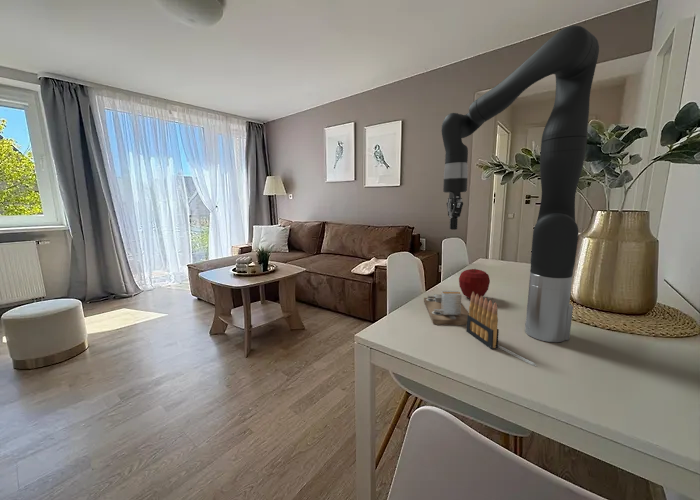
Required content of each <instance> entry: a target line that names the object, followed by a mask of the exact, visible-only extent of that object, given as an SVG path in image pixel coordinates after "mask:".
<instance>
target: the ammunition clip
mask: <svg viewBox="0 0 700 500" xmlns="http://www.w3.org/2000/svg"><path fill="white" fill-rule="evenodd" d="M469 301H470V302H469V307H468V313H469V315H468V317H467V325H466V329H465V331H466V333H467V334H469V335H470V336H472V337H473V338H475V339H476V340H478V341H479V342H480V343H482V344H483V345H484V346H486V347H487V348H488V349H489V350H497V349H499V348H498V345H499V331H500V329H498V325H499V324H498V322H499V319H498V304H497V302H496V301H495V302H494V303H493V301H492V299H490V300H489V301H488V298H487V297H485V298H484V296H483V297H482V296H481V297H480V299H479V295H478V294H476V297H475V294H474V292H472V295H471V299H470V300H469Z"/></svg>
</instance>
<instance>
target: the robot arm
mask: <svg viewBox="0 0 700 500" xmlns="http://www.w3.org/2000/svg"><path fill="white" fill-rule="evenodd" d="M599 52H600V45H599V41H598V39H597V37H596V36H595V35H594V34H592V32H591V31H589V30H588V29H586V28H585V27H583V26H581V25H570V26H566V27H564V28H562V29H561V30H559V31H558V32H556V33H555V34H554V35H553V36H552V37H550V38H549V39H548V40H547V41H545V43H544V44H542V45H541V47H539V48H538V49H537V50H536V51H535V52H534V53H533V54H532V55H530V56H529V57H528V58H527V59H526V60H525V61H524V62H523V63H522V64H521V65H519V66H518V67H517V68H515V70H514V71H512V73H510V74H509V75H508V76H507V77H505V78H504V79H503V80H502V81H500V83H498V84H497V85H495V86H494V87H492V88H491V89H489V91H487V92H485V93H484V94H482V95H480V96H479V97H477V99H475V100H474V101H473V102H472V103H470V105H469V108H468V113H465V114H462V113H458V112H451V113H448V114H447V115H446V116H445V118H444V119H443V121H442V125H441V136H442V137H441V138H442V142H443V146H444V152H445V155H444V157H445V159H444V170H443V189H442V190H443V192H444V193H448V194H449V195H448V198H447V199H446V200H447V201H446V207H447V208H446V209H447V216H448V217H449V230H453V231H454V230H458V219H459V218H460V217H461V213H462V210H463V206H464V202H463V198H462V197H461V196H462V194H461V193H467V191H468V177H469V176H468V175H469V174H468V172H469V167H468V155H469V148H468V146H467V145H466V144H464V143H463V140H462V139H465V138H467V137H470V136H472V134H474V133H475V132H476V131H477V130H478V129H480V127H481V126H482V125H484V123H485V122H487V121H489V120H490V119H492V118H494V117H495V116H497V115H499V114H501V113H503V112H504V110H506V109H508V108H509V106H511V105H512V104H513V103H514V102H515V101H516V100H517V99H518V98H519V97H520V96H521V95H522V93H523V92H524V91H526V90H527V89H528V88H529V87H531V86H533V85H534V84H535V83H537V82H539V81H541V80H543V79H545V78H546V77H547V78H548V77H549V76H551V75H554V76H555V99H554V103H553V107H552V110H551V113H550V115H549V117H548V120H547V121H546V123H545V126H544V129H543V132H542V135H541V141H540V142H541V143H540V154H539V155H540V156H539V171H540V173H539V174H540V176H539V177H540V184H541V185H540V186H541V198H540V205H539V210H538V215H537V221H536V223H535V225H534V227H533V230H532V231H533V232H532V241H531V242H532V243H531V254H530V255H531V256H530V269H529V270H530V271H529V283H528V295H527V305H526V306H527V307H526V315H525V317H526V318H525V327H524V332H525V333H526V335H528V336H529V337H531V338H534V339H536V340H539V341H543V342H547V343H548V342H549V343H561V342H564V341H570V336H571V327H572V319H573V318H572V317H573V311H574V306H573V305H572V303H570V302H571V291H572V284H573V283H572V281H573V275H574V268H575V264H576V256H577V249H578V247H577V246H578V241H579V227H578V224H577V222H576V193H577V188H578V186H579V182H580V179H581V174H582V171H583V167H584V162H585V157H586V151H587V142H588V127H589V117H590V116H589V114H590V101H591V100H590V96H591V92H592V91H591V90H592V85H593V80H594V76H595V72H596V67H597V64H598V63H597V62H598V58H599Z"/></svg>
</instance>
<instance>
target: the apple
mask: <svg viewBox="0 0 700 500" xmlns="http://www.w3.org/2000/svg"><path fill="white" fill-rule="evenodd" d="M459 275H460V276H459V278H458V284H459V288H460V291H461V292H462V293H461V294H462V295H463V296H464V297H465V298H467V299H470V300H471V295H472V292H474V294H475V297H476V294H478V295H479V300H480V297H481V296H482V297H483V298H484V296H485V295H486V293H487V292H488V291H489V287H490V283H491V279H490V275H489V274H488V273H487V272H486V271H484V270H481V269H476V268H471V269H466V270H464V271H462V272H461V273H460V274H459Z"/></svg>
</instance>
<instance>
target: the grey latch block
mask: <svg viewBox="0 0 700 500" xmlns="http://www.w3.org/2000/svg"><path fill="white" fill-rule="evenodd" d="M441 295H442V299H441V309H434V312H442V313H443V315H460V314H461V304H462V293H461V292H460V291H459V290H441Z"/></svg>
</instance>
